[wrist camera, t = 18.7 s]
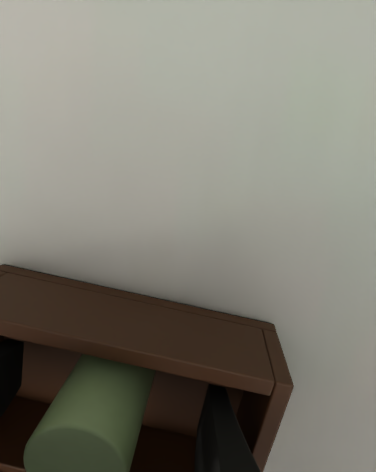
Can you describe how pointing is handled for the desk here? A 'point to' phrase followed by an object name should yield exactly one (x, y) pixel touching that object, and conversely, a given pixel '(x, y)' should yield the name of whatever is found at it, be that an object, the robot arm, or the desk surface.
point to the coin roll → (92, 419)
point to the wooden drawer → (140, 364)
